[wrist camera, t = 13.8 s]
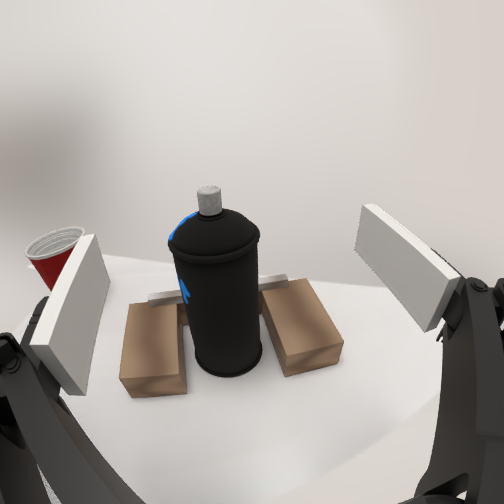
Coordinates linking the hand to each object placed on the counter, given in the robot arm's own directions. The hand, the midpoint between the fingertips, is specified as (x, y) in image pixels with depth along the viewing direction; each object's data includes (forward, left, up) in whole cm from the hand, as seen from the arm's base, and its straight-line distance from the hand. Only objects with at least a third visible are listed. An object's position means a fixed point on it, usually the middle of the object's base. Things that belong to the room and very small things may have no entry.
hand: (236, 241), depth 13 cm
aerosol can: (-1, +11, -21) cm, 24 cm away
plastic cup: (-25, +25, -21) cm, 41 cm away
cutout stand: (-1, +12, -21) cm, 24 cm away
